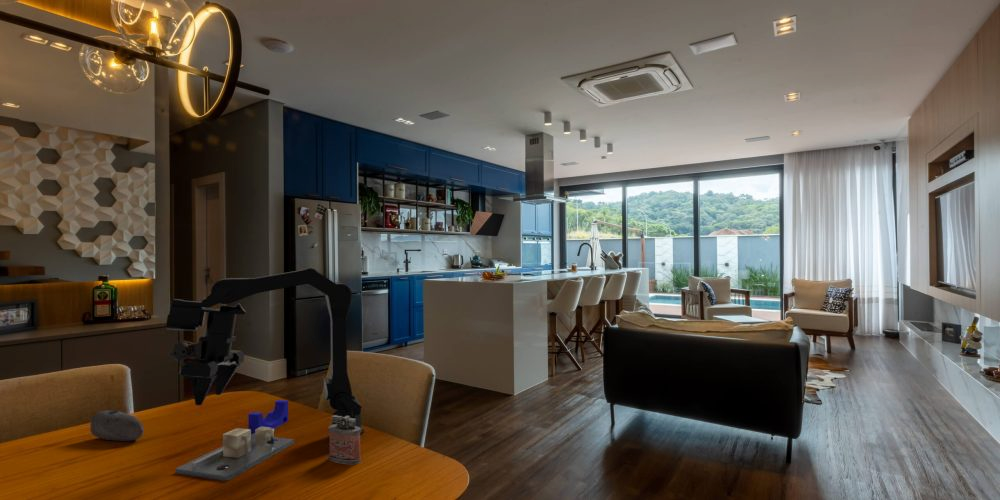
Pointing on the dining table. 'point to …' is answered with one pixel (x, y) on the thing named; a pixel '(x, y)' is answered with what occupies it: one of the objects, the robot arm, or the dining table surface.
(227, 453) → the block
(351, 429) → the lighter
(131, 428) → the perforated stone tool
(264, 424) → the cable clip
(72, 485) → the dining table surface
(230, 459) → the drilled plate
